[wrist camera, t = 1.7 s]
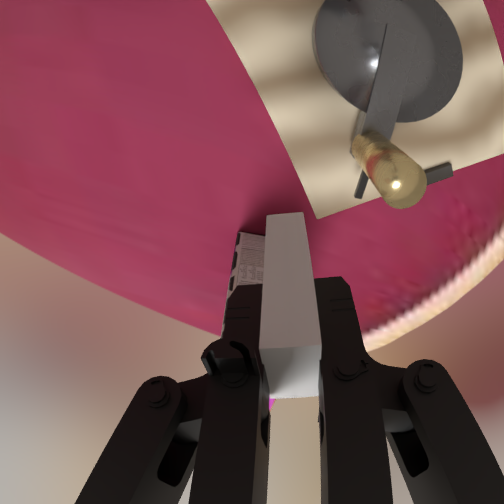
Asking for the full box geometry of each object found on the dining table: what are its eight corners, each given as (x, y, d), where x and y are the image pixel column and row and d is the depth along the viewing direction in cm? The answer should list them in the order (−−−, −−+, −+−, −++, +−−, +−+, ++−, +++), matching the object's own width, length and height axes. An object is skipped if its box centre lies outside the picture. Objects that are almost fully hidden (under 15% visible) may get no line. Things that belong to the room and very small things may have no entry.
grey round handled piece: (324, -37, 14) (352, -82, 6) (457, 17, 14) (527, 17, 7) (282, 168, 25) (287, 225, 17) (406, 197, 25) (450, 257, 18)
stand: (199, -14, 17) (191, -22, 15) (436, -67, 10) (448, -73, 8) (314, 210, 29) (318, 224, 27) (505, 143, 22) (520, 152, 20)
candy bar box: (268, 308, 38) (263, 431, 25) (228, 303, 38) (210, 425, 25) (285, 235, 31) (290, 376, 18) (237, 228, 31) (212, 367, 18)
